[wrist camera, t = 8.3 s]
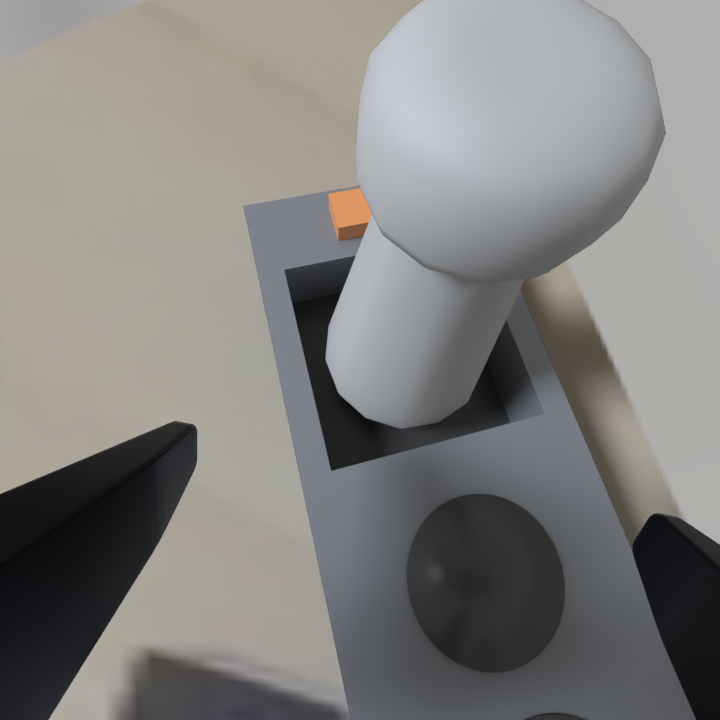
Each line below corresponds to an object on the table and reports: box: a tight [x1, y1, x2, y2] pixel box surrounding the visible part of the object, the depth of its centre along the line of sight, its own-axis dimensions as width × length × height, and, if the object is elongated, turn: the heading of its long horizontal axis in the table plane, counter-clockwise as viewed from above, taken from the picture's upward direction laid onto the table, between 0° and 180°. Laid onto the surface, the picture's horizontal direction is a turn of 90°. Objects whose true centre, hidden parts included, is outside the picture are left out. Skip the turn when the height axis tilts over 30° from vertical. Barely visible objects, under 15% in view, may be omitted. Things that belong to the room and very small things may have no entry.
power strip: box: [243, 186, 696, 720], centre depth 13 cm, size 31×10×4 cm, turn 15°
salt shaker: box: [325, 0, 666, 429], centre depth 11 cm, size 6×6×13 cm
